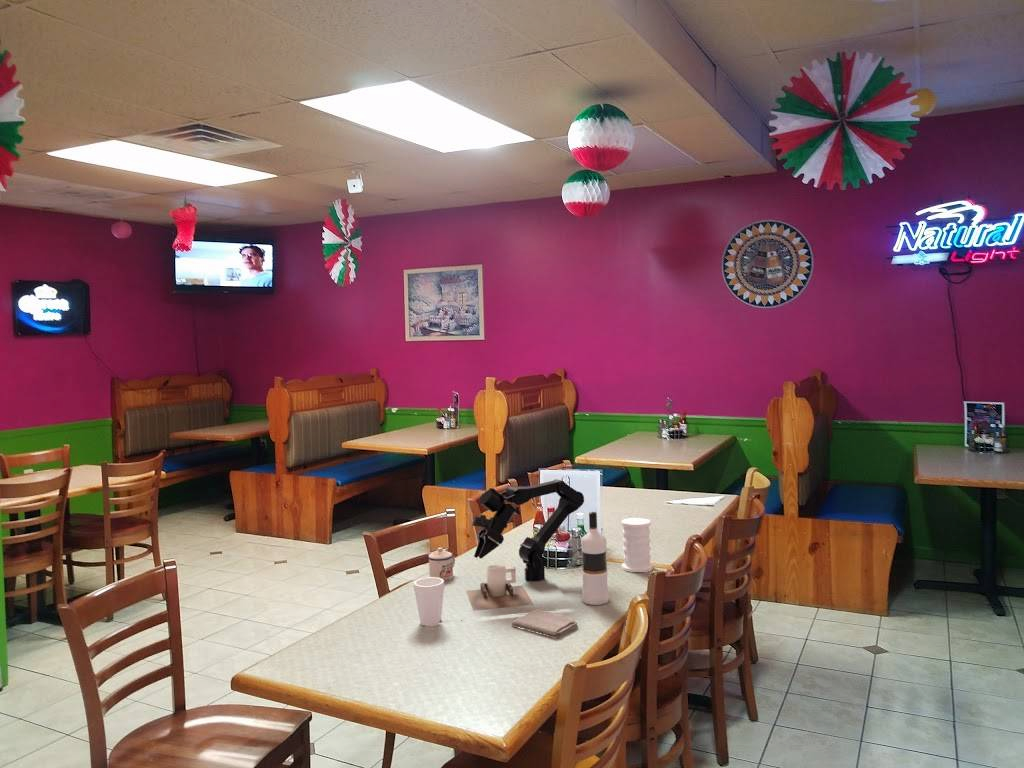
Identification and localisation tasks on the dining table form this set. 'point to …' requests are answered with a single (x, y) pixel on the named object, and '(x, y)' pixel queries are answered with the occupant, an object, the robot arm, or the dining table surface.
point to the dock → (498, 598)
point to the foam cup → (429, 599)
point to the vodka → (594, 565)
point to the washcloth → (546, 623)
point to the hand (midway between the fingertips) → (477, 557)
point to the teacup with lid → (441, 564)
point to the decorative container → (636, 545)
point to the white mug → (499, 579)
